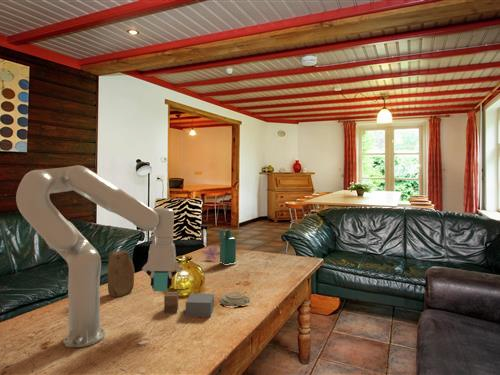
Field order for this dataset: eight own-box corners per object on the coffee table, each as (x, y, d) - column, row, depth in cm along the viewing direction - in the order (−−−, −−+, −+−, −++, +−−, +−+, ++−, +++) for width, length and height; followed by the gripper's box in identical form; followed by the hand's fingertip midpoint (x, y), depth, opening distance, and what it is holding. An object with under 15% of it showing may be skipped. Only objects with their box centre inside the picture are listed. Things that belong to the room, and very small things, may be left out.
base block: (210, 317, 131) (210, 302, 130) (185, 317, 131) (185, 302, 131) (213, 307, 141) (214, 293, 140) (190, 307, 141) (190, 293, 141)
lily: (200, 260, 222) (198, 249, 217) (213, 251, 229) (212, 240, 224) (212, 269, 215) (211, 258, 210) (225, 259, 222) (224, 248, 217)
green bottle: (229, 261, 216) (229, 228, 215) (237, 264, 210) (237, 229, 209) (216, 263, 210) (217, 229, 209) (224, 266, 203) (224, 231, 203)
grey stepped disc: (214, 307, 141) (248, 310, 138) (214, 299, 141) (248, 302, 138) (223, 295, 156) (254, 298, 153) (223, 288, 156) (255, 290, 153)
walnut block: (176, 312, 134) (176, 296, 134) (164, 313, 134) (164, 296, 134) (178, 308, 139) (178, 291, 139) (166, 308, 139) (166, 291, 139)
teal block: (166, 291, 124) (167, 272, 124) (153, 291, 124) (153, 272, 124) (168, 287, 129) (169, 269, 129) (155, 286, 129) (156, 269, 129)
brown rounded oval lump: (113, 298, 148) (114, 254, 148) (106, 294, 153) (106, 252, 153) (136, 292, 157) (136, 250, 156) (127, 288, 161) (128, 248, 161)
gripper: (137, 241, 122) (136, 290, 122) (184, 242, 123) (182, 291, 124) (142, 238, 129) (140, 284, 129) (186, 239, 131) (184, 284, 131)
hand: (161, 287), depth 127 cm, fingers closed on teal block, 5 cm apart
